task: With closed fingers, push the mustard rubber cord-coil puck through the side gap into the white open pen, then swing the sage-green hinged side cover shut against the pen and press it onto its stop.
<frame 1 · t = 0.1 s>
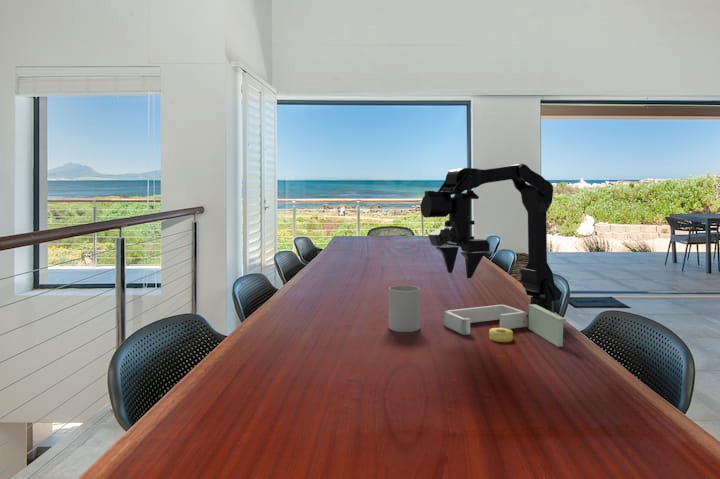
hand: (459, 275, 122), 15 cm above the table, fingers open, 9 cm apart
cord coil: (500, 338, 116), on the table
mug: (405, 326, 127), on the table
cover: (546, 324, 116), point 3 cm above the table, hinge at 75.0°
white open pen: (484, 325, 127), on the table
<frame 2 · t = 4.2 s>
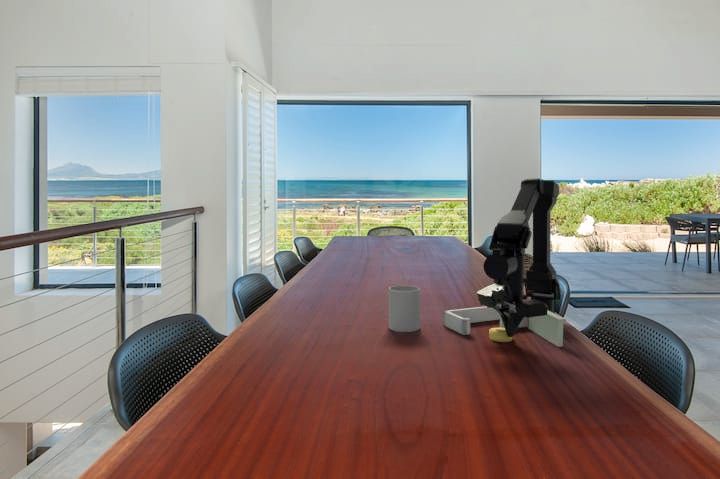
hand: (510, 336, 112), 1 cm above the table, fingers closed
cord coil: (500, 338, 116), on the table, touching gripper
everything else where it was.
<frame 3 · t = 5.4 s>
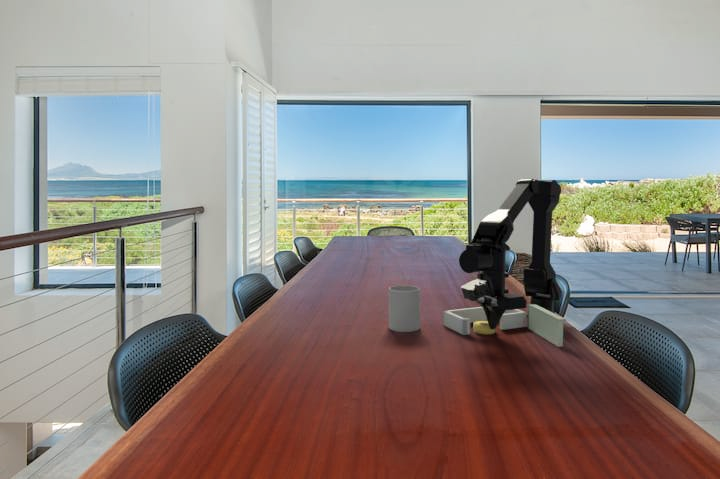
hand: (492, 329, 119), 1 cm above the table, fingers closed
cord coil: (484, 331, 122), on the table, touching gripper
everything else where it was.
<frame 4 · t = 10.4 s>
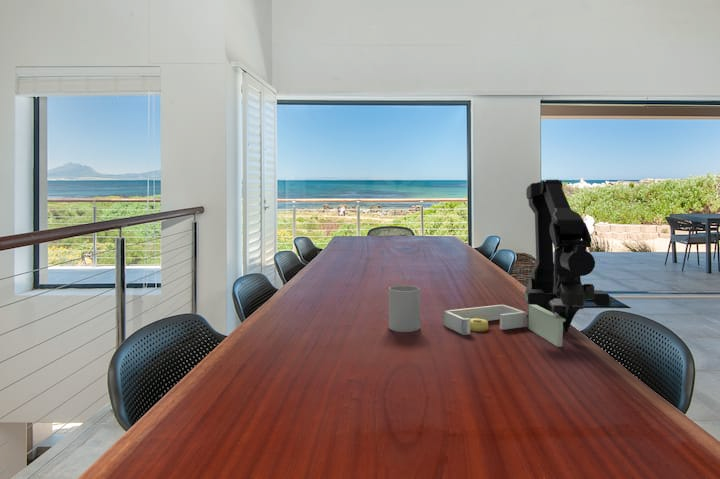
hand: (565, 331, 114), 2 cm above the table, fingers closed
cord coil: (477, 328, 125), on the table
cover: (545, 324, 116), point 3 cm above the table, hinge at 74.5°, touching gripper
everything else where it was.
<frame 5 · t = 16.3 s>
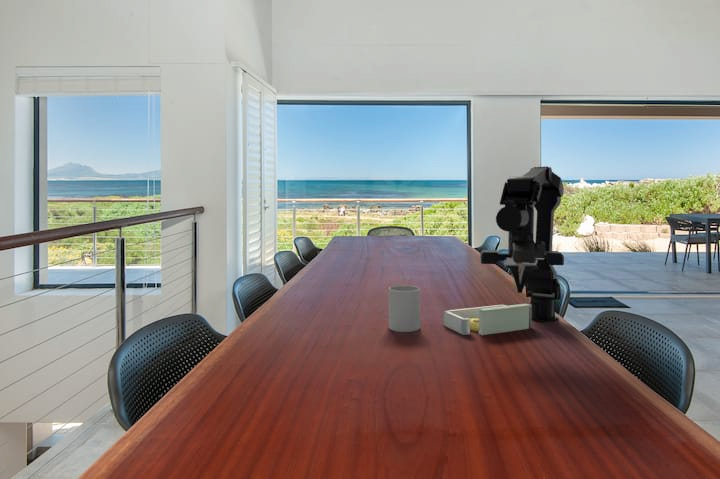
hand: (519, 292, 113), 12 cm above the table, fingers closed
cover: (505, 319, 121), point 3 cm above the table, hinge at 0.5°
everything else where it was.
at the end: cord coil inside the target area on the white open pen (3.2 cm from its centre), point 0.0 cm above the white open pen's base; cover at +0° (first picture: +75°) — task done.
